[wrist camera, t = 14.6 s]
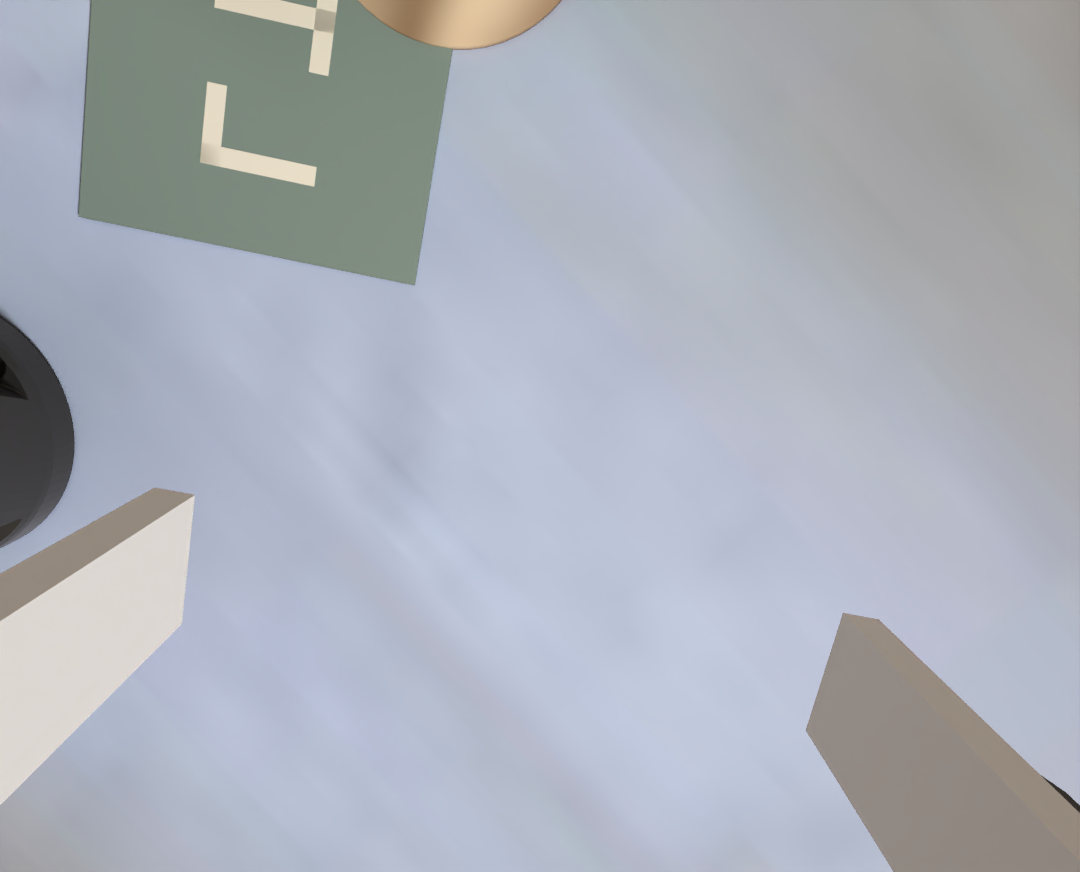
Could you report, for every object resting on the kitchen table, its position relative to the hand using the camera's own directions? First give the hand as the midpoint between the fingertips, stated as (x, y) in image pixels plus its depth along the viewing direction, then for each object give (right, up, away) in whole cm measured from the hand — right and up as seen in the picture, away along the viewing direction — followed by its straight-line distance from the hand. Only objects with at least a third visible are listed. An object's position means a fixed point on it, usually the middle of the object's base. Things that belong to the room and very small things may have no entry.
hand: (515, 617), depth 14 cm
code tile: (-13, +22, +22) cm, 34 cm away
